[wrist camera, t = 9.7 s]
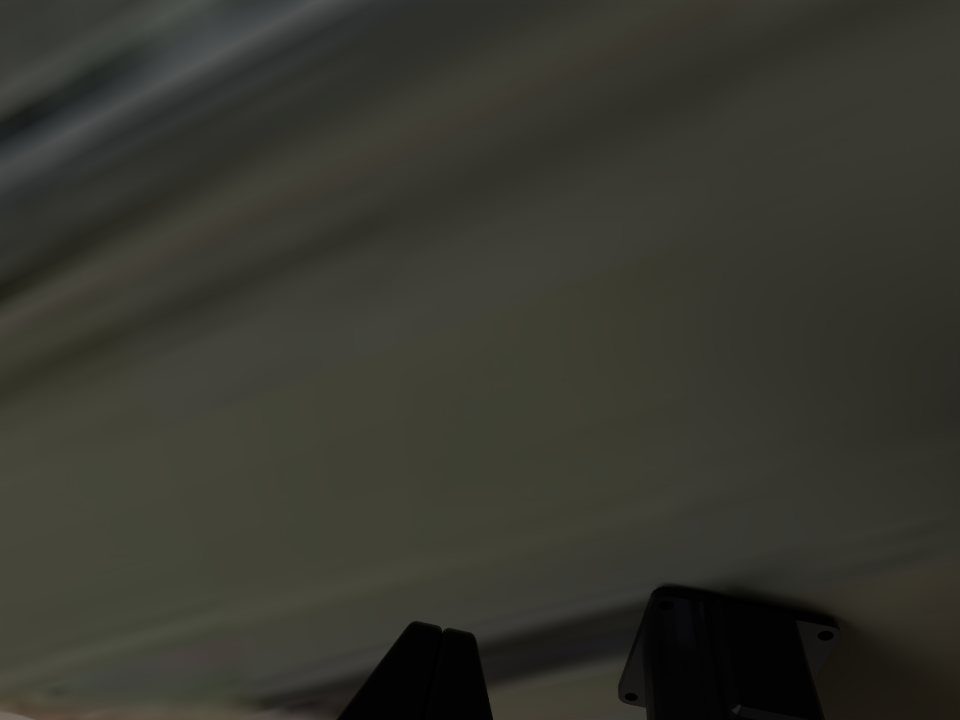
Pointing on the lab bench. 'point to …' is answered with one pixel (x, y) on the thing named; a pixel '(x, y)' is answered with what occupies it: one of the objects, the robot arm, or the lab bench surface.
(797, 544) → the lab bench surface
